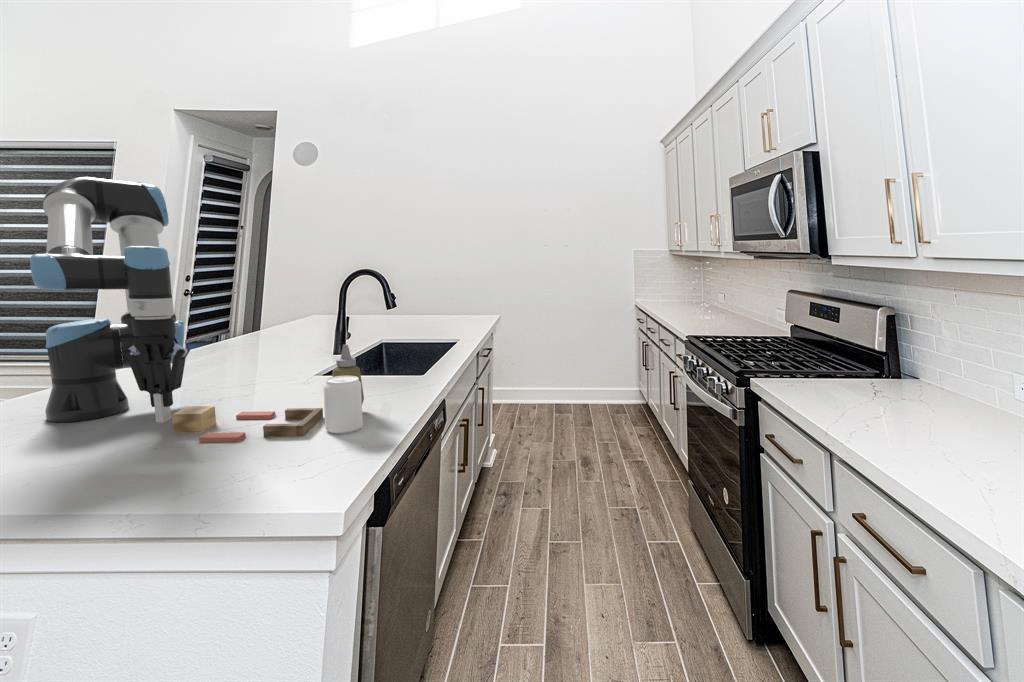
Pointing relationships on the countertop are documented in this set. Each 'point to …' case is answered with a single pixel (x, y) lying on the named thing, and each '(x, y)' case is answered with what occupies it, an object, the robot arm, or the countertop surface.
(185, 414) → the oak block
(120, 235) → the robot arm
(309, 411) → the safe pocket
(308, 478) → the countertop surface
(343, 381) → the beverage can
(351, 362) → the squeeze bottle
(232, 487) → the countertop surface
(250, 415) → the mats
